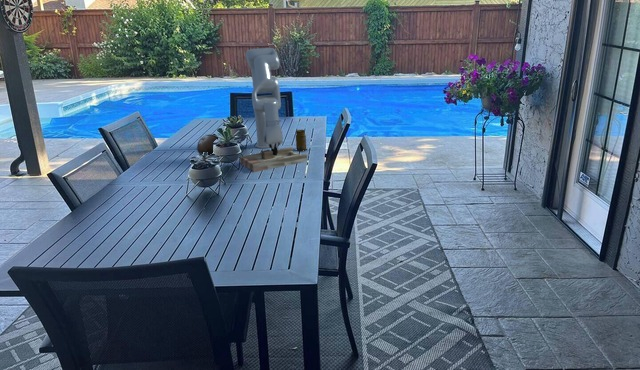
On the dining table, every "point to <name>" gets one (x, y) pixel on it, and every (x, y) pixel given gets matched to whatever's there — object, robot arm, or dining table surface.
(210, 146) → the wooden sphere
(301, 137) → the condiment
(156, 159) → the dining table surface
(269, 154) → the walnut block
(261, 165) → the trap track
